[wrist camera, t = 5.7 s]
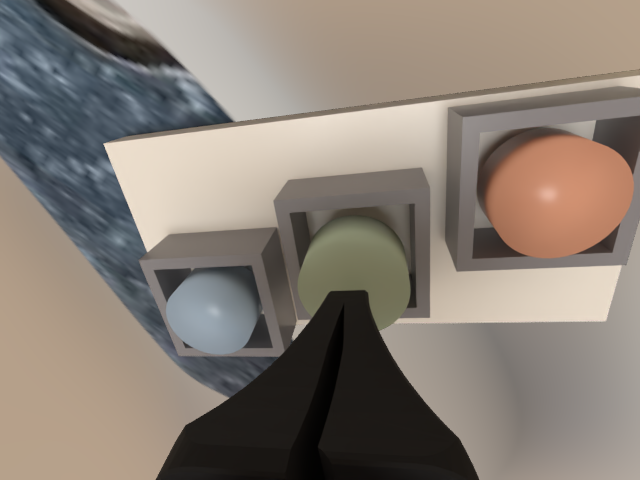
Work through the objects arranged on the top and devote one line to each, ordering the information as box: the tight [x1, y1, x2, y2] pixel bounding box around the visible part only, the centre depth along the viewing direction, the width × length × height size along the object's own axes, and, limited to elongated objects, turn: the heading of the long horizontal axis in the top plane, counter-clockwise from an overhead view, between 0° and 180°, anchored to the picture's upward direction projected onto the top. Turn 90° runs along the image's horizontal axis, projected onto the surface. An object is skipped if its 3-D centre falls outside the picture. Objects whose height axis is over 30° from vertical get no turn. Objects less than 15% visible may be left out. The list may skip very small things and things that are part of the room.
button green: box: [298, 215, 411, 330], centre depth 15 cm, size 4×4×2 cm
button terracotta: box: [477, 128, 634, 258], centre depth 13 cm, size 4×4×2 cm
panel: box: [104, 69, 640, 357], centre depth 18 cm, size 12×25×5 cm, turn 98°
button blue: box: [166, 266, 263, 355], centre depth 18 cm, size 4×4×2 cm
